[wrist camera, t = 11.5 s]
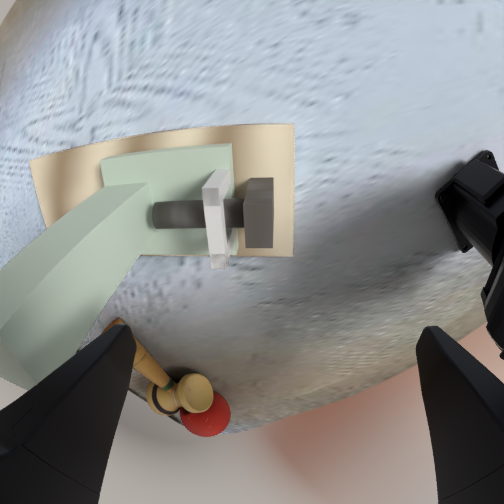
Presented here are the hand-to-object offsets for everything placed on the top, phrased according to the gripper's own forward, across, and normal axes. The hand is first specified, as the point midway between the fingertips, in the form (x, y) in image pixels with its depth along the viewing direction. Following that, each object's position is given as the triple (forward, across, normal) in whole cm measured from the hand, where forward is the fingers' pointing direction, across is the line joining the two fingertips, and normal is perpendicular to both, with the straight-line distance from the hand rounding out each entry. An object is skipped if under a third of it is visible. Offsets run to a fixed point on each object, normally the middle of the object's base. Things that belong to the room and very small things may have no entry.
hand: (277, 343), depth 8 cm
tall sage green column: (+12, +7, 0) cm, 14 cm away
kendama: (+14, +12, +20) cm, 27 cm away
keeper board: (+13, +9, 0) cm, 16 cm away
